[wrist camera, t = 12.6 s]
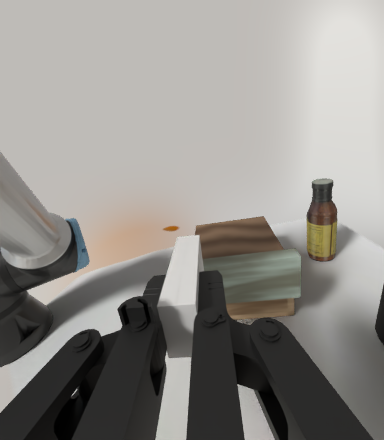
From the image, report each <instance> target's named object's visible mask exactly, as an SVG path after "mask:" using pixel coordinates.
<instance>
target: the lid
mask: <svg viewBox="0 0 384 440" xmlns="http://www.w3.org/2000/svg"><path fill="white" fill-rule="evenodd" d="M195 235H199V236H200V244H201V251H202V259H203V267H204V271H214V270H218V271H219V272H220V273H221V275H222V278H223V285H224V292H225V300H226V304H229V303H241V302H252V301H264V300H275V299H287V298H299V297H300V294H301V256H300V254H299V253H298V252H297V250H296V249H295V248H294V249H285V250H284V249H283V247H282V246H281V244H280V242H279V241H278V239H277V238H276V236H275V234H274V233H273V231H272V229H271V228H270V226H269V225H268V223H267V221H266V220H265V218H264V217H263V216H262V217H256V218H249V219H241V220H233V221H226V222H219V223H212V224H205V225H197V226H196V232H195Z"/></svg>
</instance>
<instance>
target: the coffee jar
mask: <svg viewBox="0 0 384 440" xmlns="http://www.w3.org/2000/svg"><path fill="white" fill-rule="evenodd" d="M375 329H376V332H377V334H378V337H379V339H380V341H381V342H382V343H383V345H384V285H383V290H382V295H381V300H380V304H379V309H378V314H377V319H376V325H375Z"/></svg>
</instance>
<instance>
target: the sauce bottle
mask: <svg viewBox="0 0 384 440" xmlns="http://www.w3.org/2000/svg"><path fill="white" fill-rule="evenodd" d="M332 187H333V180H331V179H316V180H314V181H313V182H312V188H313V197H312V202H311V205H310V208H309V210H308V212H307V251H308V255H309V256H310V257H311V258H312V259H315V260H317V261H329V260H332V259H333V258H334V256H335V252H336V233H337V208H336V206H335V204H334V203H333V201H332V200H331V199H332Z"/></svg>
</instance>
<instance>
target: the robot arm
mask: <svg viewBox="0 0 384 440" xmlns="http://www.w3.org/2000/svg"><path fill="white" fill-rule="evenodd" d="M88 264H89V256H88V253H87V249H86V246H85V243H84V239H83V236H82V233H81V230H80V227H79V224H78V222H77V220H76V219H74V218H72V219H66V220H64V219H63V218H62V217H60V216H58V215H56V214H53V213H48V211H47V210H46V209H45V208H44V206H43V205H42V204H41V203H40V201H39V200H38V199H37V198H36V196H35V195H34V194H33V192H32V191H31V190H30V189H29V187H28V186H27V185H26V184H25V182H24V181H23V180H22V179H21V177H20V176H19V175H18V173H17V172H16V171H15V170H14V169H13V167H12V166H11V165H10V163H9V162H8V161H7V160H6V159H5V157H4V156H3V155H2V153H1V152H0V367H2V366H4V365H7V364H9V363H10V362H12V361H14V360H16V359H17V358H19V357H20V356H22V355H23V354H25V353H26V352H27V351H29V350H30V349H31V348H32V347H34V346H35V345H36V344H37V343H38V342H39V341H40V340H41V339H42V338H43V336H44V335H45V334H46V333H47V331H48V330H49V328H50V326H51V324H52V321H53V315H52V313H51V312H50V310H49V308H48V307H47V306H46V305H44V304H43V303H41V302H40V301H38V300H37V299H35V298H34V297H32V296H31V295H29V294H28V292H27V290H29V289H31V288H34V287H37V286H39V285H42V284H44V283H47V282H49V281H52V280H54V279H57V278H59V277H62V276H65V275H67V274H70V273H72V272H73V273H74V272H77V271H78V270H79V269H82V268H84V267H86V266H87V265H88ZM118 313H119V316H120V319H121V322H122V328H121V330H119V331H116V332H114V333H111V334H108V335H104V336H101V335H100V333H99V331H97V330H95V329H88V330H85V331H81V332H80V333H78V334H76V335H74V336H73V337H72V338H71V339H70V340H69V341H68V342H67V343H66V344H65V345H64V346H63V347H62V348H61V349H60V350H59V351H58V352H57V353H56V354H55V355H54V356H53V357H52V359H51V360H50V361H49V362H48V363H47V364H46V365H45V366H44V367H43V368H42V369H41V370H40V371H39V372H38V373H37V375H36V376H35V377H34V378H33V379H32V380H31V381H30V382H29V383H28V384H27V385H26V386H25V387H24V388H23V389H22V390H21V392H20V393H19V394H18V395H17V396H16V397H15V398H14V399H13V400H12V401H11V402H10V403H9V404H8V405H7V406H6V407H5V409H4V410H3V411H2V412H1V413H0V440H155V438H156V432H157V426H158V419H159V413H160V407H161V401H162V395H163V389H164V383H165V377H166V363H165V356H166V350H167V353H168V357H169V358H179V357H192V359H191V375H190V391H189V406H188V422H187V438H186V440H245V439H244V431H243V424H242V416H241V409H240V401H239V394H238V386H237V384H239V385H242V386H245V387H248V388H251V389H254V392H255V394H256V396H257V399H258V401H259V403H260V406H261V408H262V410H263V413H264V415H265V417H266V420H267V422H268V424H269V427H270V429H271V431H272V434H273V436H274V438H275V440H373V438H372V437H371V436H370V435H369V433H368V432H367V431H366V429H365V428H364V427H363V426H362V424H361V423H360V422H359V420H358V419H357V418H356V416H355V415H354V414H353V413H352V411H351V410H350V409H349V407H348V406H347V405H346V403H345V402H344V401H343V400H342V398H341V397H340V396H339V394H338V393H337V392H336V390H335V389H334V388H333V387H332V385H331V384H330V383H329V381H328V380H327V379H326V378H325V376H324V375H323V374H322V372H321V371H320V370H319V368H318V367H317V366H316V365H315V363H314V362H313V361H312V359H311V358H310V357H309V355H308V354H307V353H306V352H305V350H304V349H303V348H302V346H301V345H300V344H299V342H298V341H297V340H296V339H295V337H294V336H293V335H292V333H291V332H290V331H289V330H288V328H287V327H286V326H285V325H284V324H283V323H281V322H279V321H277V320H275V319H271V318H260V319H258V320H256V321H254V322H253V323H252V325H246V324H242V323H239V322H237V321H235V320H233V319H232V318H231V317H230V316H229V314H228V312H227V307H226V300H225V292H224V285H223V278H222V275H221V273H220V272H219V271H218V270H214V271H204V267H203V259H202V251H201V244H200V236H199V235H194V236H183V237H177V240H176V243H175V247H174V250H173V254H172V257H171V260H170V264H169V267H168V271H167V274H166V275H161V276H154V277H153V278H152V279H151V280H150V281H149V282H148V284H147V286H146V288H145V291H144V293H143V296H138V297H133V298H131V299H128V300H126V301H125V302H124V303H122V304H121V305H120V306H119V308H118ZM76 389H77V391H76V393H75V394H74V395H73V396H71V395H72V394H73V393H74V391H75V390H76Z"/></svg>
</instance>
